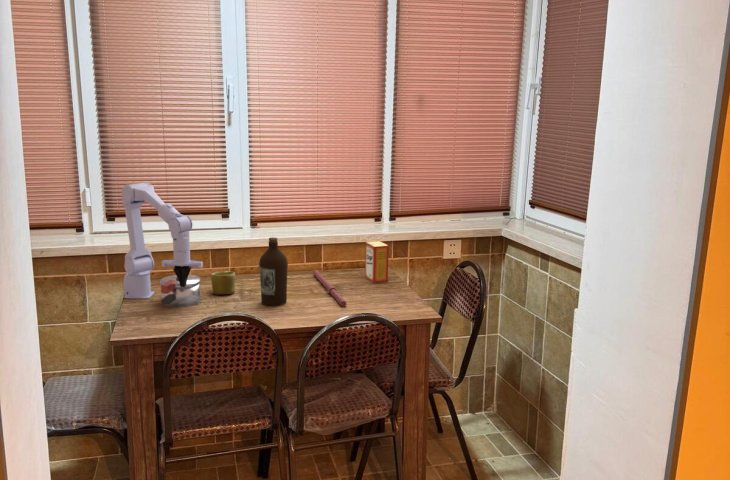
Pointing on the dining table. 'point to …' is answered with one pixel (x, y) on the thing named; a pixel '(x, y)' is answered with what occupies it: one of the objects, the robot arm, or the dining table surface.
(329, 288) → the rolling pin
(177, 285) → the cooker lid
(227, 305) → the dining table surface
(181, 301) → the silver pot
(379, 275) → the baking soda box
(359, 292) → the dining table surface
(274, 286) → the olive oil
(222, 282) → the mug
